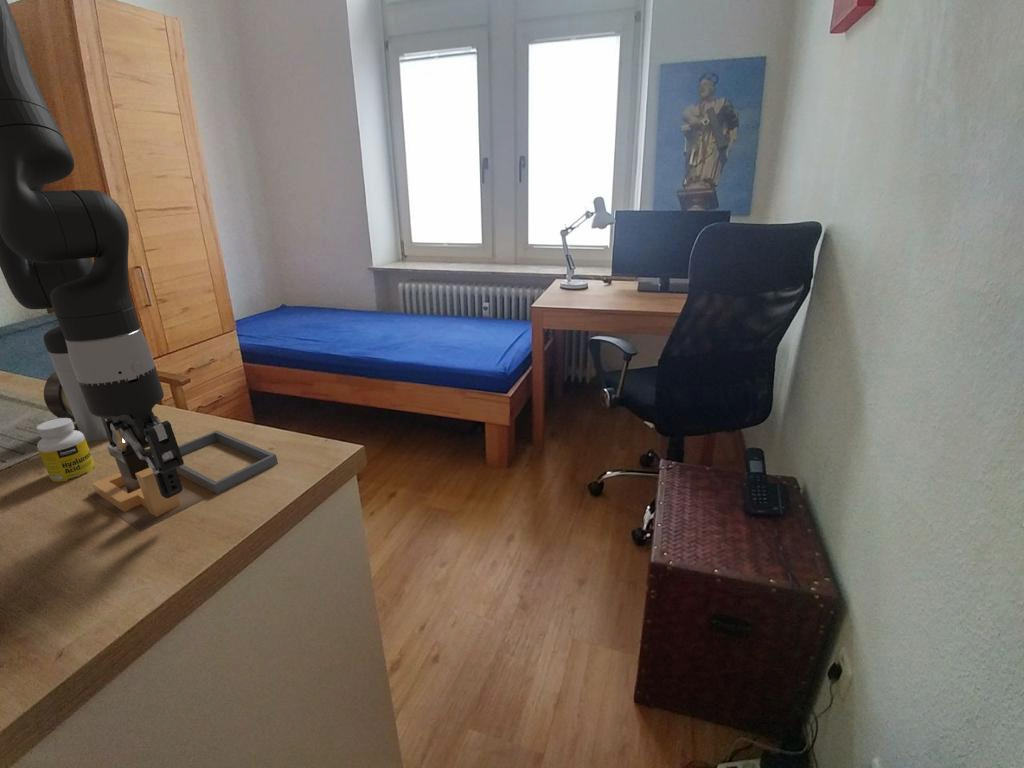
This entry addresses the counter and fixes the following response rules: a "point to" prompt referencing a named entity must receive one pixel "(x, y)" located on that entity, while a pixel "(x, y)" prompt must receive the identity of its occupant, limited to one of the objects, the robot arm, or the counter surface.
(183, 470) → the tray
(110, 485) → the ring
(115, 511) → the board
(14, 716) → the counter surface
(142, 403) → the robot arm
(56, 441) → the supplement bottle
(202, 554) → the counter surface
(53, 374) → the alarm clock
